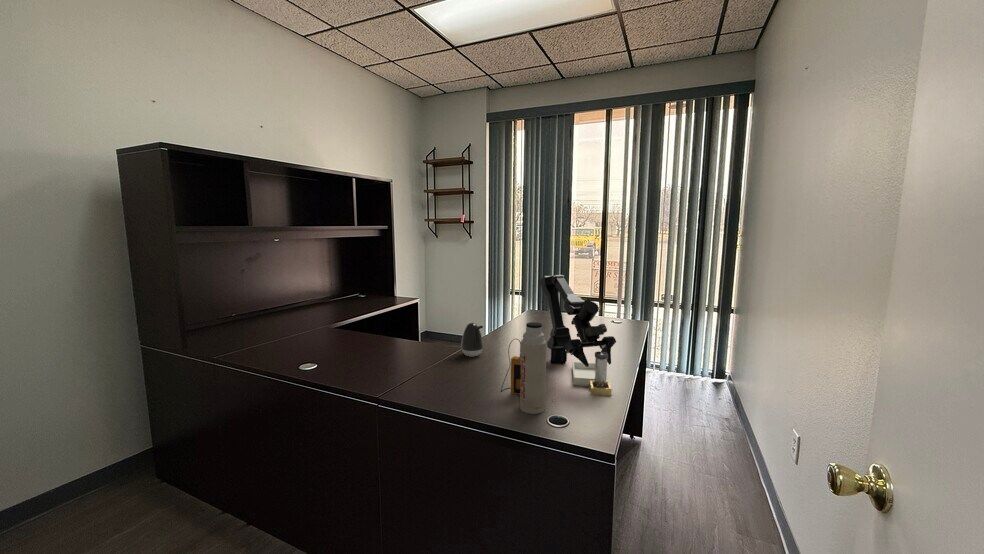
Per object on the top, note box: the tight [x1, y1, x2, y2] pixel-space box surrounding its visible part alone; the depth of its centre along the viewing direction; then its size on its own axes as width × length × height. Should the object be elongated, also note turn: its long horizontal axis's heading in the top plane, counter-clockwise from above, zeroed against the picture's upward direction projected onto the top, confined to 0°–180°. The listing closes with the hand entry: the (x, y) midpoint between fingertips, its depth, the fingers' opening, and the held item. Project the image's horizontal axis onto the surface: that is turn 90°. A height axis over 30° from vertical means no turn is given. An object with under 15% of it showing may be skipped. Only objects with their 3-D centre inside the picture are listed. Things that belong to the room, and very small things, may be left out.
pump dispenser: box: [460, 322, 484, 358], centre depth 180 cm, size 10×10×15 cm
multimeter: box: [500, 338, 521, 396], centre depth 140 cm, size 15×10×20 cm
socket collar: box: [589, 381, 612, 397], centre depth 140 cm, size 7×7×2 cm
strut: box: [594, 351, 608, 388], centre depth 139 cm, size 5×5×14 cm
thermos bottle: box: [519, 321, 547, 415], centre depth 125 cm, size 8×8×28 cm
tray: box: [571, 361, 595, 387], centre depth 153 cm, size 10×18×3 cm, turn 170°
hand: (599, 365), depth 140 cm, fingers open, 9 cm apart
